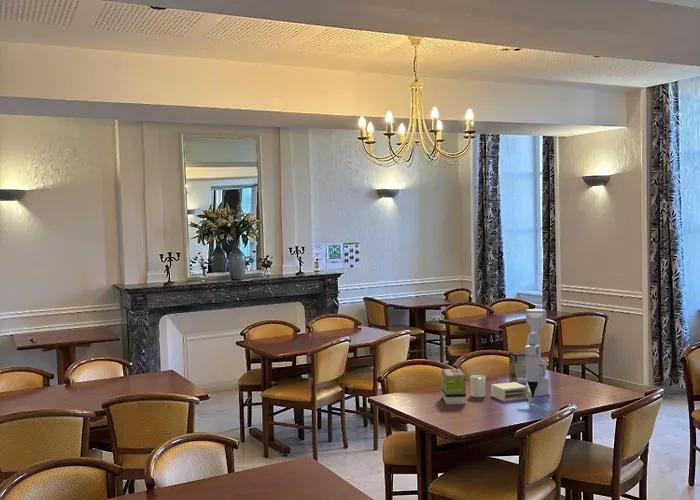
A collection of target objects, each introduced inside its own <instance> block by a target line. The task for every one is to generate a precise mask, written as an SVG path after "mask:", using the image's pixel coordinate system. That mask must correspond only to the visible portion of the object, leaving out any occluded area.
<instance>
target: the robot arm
mask: <svg viewBox="0 0 700 500" xmlns="http://www.w3.org/2000/svg"><path fill="white" fill-rule="evenodd" d="M525 320H526V323H527V325H529V327H530V329H529V330H530V332H529V333H528V334H527V339H526V345H525V348H524V354H525V356H526V378H517V383H520V382H527V385H528V387H529V388H530V392H531V398H533V399H534V397H542V396H550V394H551V393H550V382H549V379H548V377H547V362H546V361H545V360H544V359H543V358H542V357H541V355H542V353H541V352H542V330H543V329H542V328H543V327H544V326H546V324H547V311H546V309H532V308H531V309H529V308H527V309H526V311H525Z"/></svg>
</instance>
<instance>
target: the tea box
mask: <svg viewBox="0 0 700 500" xmlns="http://www.w3.org/2000/svg"><path fill="white" fill-rule="evenodd" d="M441 389H442V390H441V392H442V395H441V396H442V398H443V400H444V403H446V405H466V404H467V390H466V374H465V373H464V372H463V371H462V370H461V368H444V369H443V368H442V369H441Z"/></svg>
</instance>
